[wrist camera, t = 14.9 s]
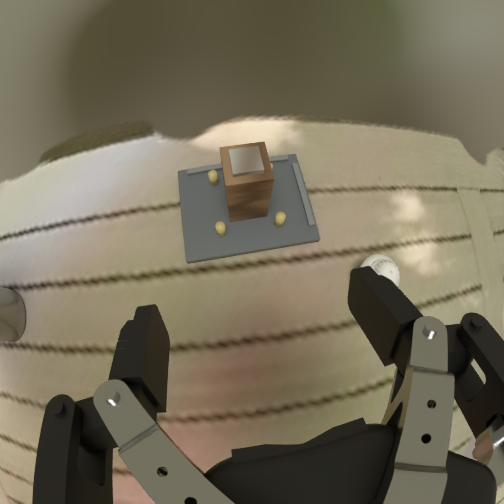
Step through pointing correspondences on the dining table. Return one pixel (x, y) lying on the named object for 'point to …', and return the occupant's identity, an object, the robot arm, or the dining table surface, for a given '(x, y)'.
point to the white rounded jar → (383, 267)
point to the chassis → (246, 231)
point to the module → (247, 180)
